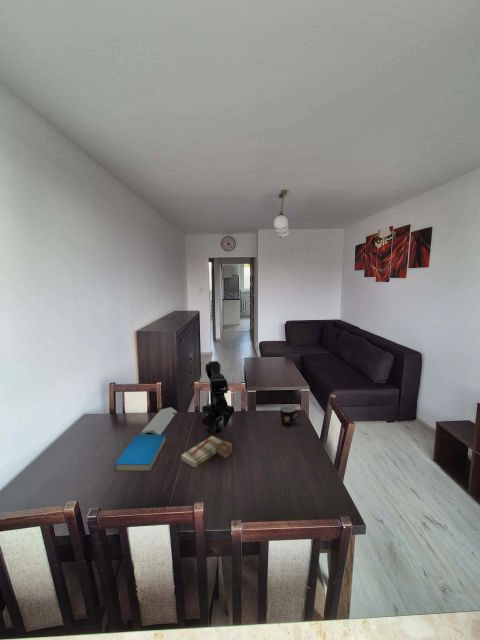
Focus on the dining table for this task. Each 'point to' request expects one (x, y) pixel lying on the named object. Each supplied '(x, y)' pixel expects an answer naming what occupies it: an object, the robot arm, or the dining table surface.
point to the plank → (202, 452)
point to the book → (141, 452)
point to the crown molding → (160, 421)
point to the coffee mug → (287, 415)
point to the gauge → (225, 449)
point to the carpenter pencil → (199, 447)
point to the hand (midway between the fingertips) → (219, 431)
